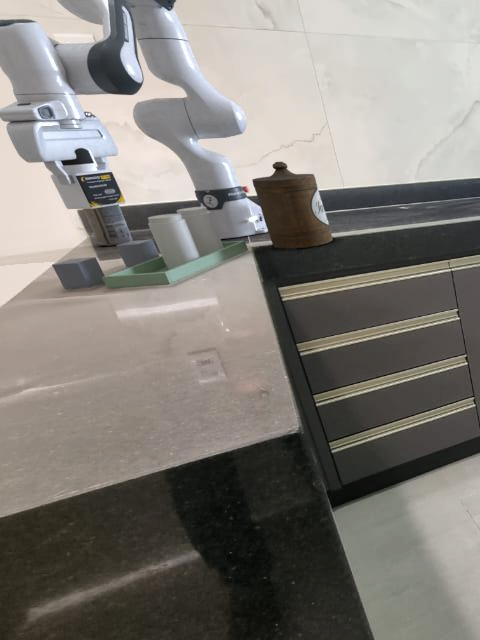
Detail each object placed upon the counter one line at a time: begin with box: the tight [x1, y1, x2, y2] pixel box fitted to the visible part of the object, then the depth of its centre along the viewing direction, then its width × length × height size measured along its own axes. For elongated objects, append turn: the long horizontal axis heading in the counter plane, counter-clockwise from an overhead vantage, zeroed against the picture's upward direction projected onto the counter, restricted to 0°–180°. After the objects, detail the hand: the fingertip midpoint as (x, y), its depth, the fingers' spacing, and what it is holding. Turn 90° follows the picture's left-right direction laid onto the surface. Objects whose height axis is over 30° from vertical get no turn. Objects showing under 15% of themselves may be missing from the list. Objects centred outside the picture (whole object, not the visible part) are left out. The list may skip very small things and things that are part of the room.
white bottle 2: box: [176, 206, 224, 257], centre depth 135 cm, size 7×7×12 cm
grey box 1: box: [51, 256, 106, 290], centre depth 116 cm, size 5×5×6 cm
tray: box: [102, 240, 249, 289], centre depth 128 cm, size 32×13×3 cm, turn 7°
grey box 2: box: [115, 239, 161, 268], centre depth 132 cm, size 5×5×6 cm
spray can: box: [82, 204, 134, 246], centre depth 158 cm, size 8×8×20 cm
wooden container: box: [251, 161, 334, 250], centre depth 145 cm, size 15×15×22 cm
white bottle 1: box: [147, 213, 200, 270], centre depth 126 cm, size 7×7×12 cm
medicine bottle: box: [50, 148, 126, 210], centre depth 114 cm, size 7×7×12 cm
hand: (86, 181), depth 114 cm, fingers closed on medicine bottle, 8 cm apart
